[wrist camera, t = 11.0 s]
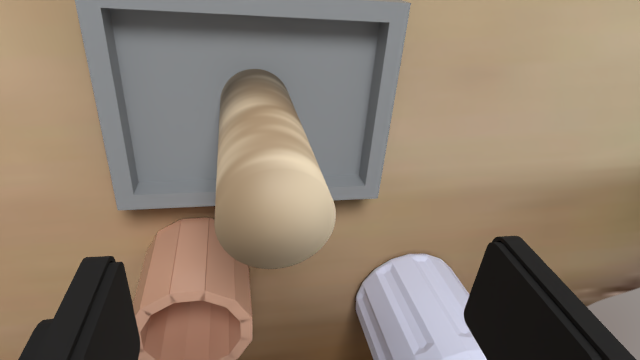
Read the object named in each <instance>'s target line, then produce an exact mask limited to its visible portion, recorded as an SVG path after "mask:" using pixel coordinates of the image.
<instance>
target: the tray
mask: <svg viewBox="0 0 640 360" xmlns="http://www.w3.org/2000/svg"><path fill="white" fill-rule="evenodd" d="M75 3H76V8H77V13H78V18H79V23H80V28H81V33H82V38H83V42H84V47H85V52H86V57H87V62H88V67H89V72H90V77H91V82H92V86H93V91H94V96H95V101H96V106H97V111H98V116H99V121H100V125H101V130H102V135H103V140H104V145H105V150H106V155H107V160H108V165H109V169H110V174H111V179H112V184H113V189H114V194H115V199H116V204H117V209H118V210H136V209H158V208H179V207H201V206H215V199H216V178H217V158H218V137H219V116H220V97H221V93H222V90H223V88H224V86H225V84H226V83H227V81H228V80H229V79H230V78H231V77H232V76H234V75H235V74H237V73H239V72H241V71H244V70H247V69H262V70H265V71H268V72H270V73H272V74H274V75H275V76H277V77H278V78H279V79H280V80H281V81H282V82H283V84H284V85H285V87H286V89H287V91H288V93H289V96H290V98H291V101H292V103H293V105H294V108H295V110H296V113H297V115H298V117H299V120H300V122H301V124H302V127H303V129H304V132H305V134H306V136H307V139H308V141H309V144H310V146H311V148H312V151H313V153H314V156H315V158H316V160H317V163H318V165H319V168H320V170H321V172H322V175H323V177H324V179H325V182H326V184H327V187H328V189H329V191H330V194H331V196H332V199H333V200H352V199H373V198H378V193H379V187H380V182H381V176H382V170H383V164H384V158H385V152H386V146H387V140H388V134H389V128H390V123H391V117H392V111H393V105H394V99H395V93H396V87H397V81H398V75H399V69H400V64H401V58H402V52H403V46H404V40H405V34H406V28H407V22H408V16H409V10H410V5H411V3H409V2H405V1H402V0H75Z"/></svg>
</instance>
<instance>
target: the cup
mask: <svg viewBox="0 0 640 360" xmlns="http://www.w3.org/2000/svg"><path fill="white" fill-rule="evenodd" d="M214 222H215V219H212V218H209V217H208V218H189V219H182V220H181V219H180V220H178V221H176V222H175V223H173V224H171V225H169V226H167V227H165V228H163V229H161V230H160V231H158V232H157V234H156V236H155V237H154V239H153V241H152V243H151V244H150V246H149V248H148V249H147V252H146V256H145V260H144V264H143V268H142V272H141V275H140V279H139V283H138V287H137V291H136V295H135V299H134V302H133V309H134V313H135V318H136V323H137V327H138V332H139V336H140V353H139V357H138V359H139V360H236V359H237V358H239V356H240V355H241V354H242V353H243V351H244V350H245V349H246V347H247V346H248V345H249V344H250V342H251V341H252V339H253V336H252V308H251V294H250V280H249V266H248V265H246V264H243V263H241V262H239V261H237V260H236V259H234V258H233V257H231V256H230V255H229V254H228V253H227V252H226V251H225V250H224V249H223V247H222V246H221V245H220V243H219V241H218V239H217V236H216V233H215V226H214Z"/></svg>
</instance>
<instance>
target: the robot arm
mask: <svg viewBox="0 0 640 360" xmlns="http://www.w3.org/2000/svg"><path fill="white" fill-rule="evenodd" d="M464 320H465V323H466V325H467V326H468V328H469V330H470V332H471V333H472V335H473V337H474V338H475V340H476V342H477V343H478V345H479V347H480V349H481V350H482V352H483V354H484V355H485V357H486V359H487V360H636V359H635V358H634V357H633V356H632V355H631V354H630V353H629V352H628V351H627V349H626V348H625V347H624V346H623V345H622V344H621V343H620V342H619V341H618V340H617V339H616V338H615V337H614V336H613V335H612V334H611V332H609V330H608V329H607V328H606V327H605V326H604V325H603V324H602V323H601V322H600V321H599V320H598V319H597V318H596V317H595V316H594V315H593V313H592V312H591V311H590V310H588V308H587V307H586V306H585V305H584V304H583V303H582V302H581V301H580V300H579V299H578V298H577V296H576V295H575V294H574V293H573V292H572V291H571V290H570V289H569V288H568V287H567V286H566V285H565V284H564V283H563V282H562V281H561V280H560V278H559V277H558V276H557V275H556V274H555V273H554V272H553V271H552V270H551V269H550V268H549V267H548V266H547V265H546V264H545V263H544V262H543V260H542V259H541V258H540V257H539V256H538V255H537V254H536V253H535V252H534V251H533V250H532V249H531V248H530V247H529V246H528V245H527V244H526V243H525V241H524V240H523V239H521V238H520V237H518V236H504V237H496V238H495V239H493V241H492V243H489V244H488V246H487V249H486V251H485V254H484V257H483V260H482V262H481V265H480V268H479V271H478V273H477V276H476V279H475V282H474V284H473V287H472V290H471V293H470V295H469V298H468V301H467V303H466V306H465V309H464ZM139 353H140V336H139V332H138V327H137V323H136V318H135V313H134V309H133V304H132V300H131V295H130V291H129V286H128V282H127V277H126V273H125V268H124V264H123V263H122V262H115V259H114V257H113V256H104V257H86V258H84V259H83V260H82V262H81V264H80V266H79V268H78V270H77V272H76V274H75V276H74V278H73V280H72V282H71V284H70V286H69V288H68V290H67V292H66V294H65V296H64V298H63V300H62V302H61V305H60V307H59V309H58V311H57V313H56V315H55V317H54V319H47V320H42V321H41V322H40V323H39V324H38V325H37V327H36V328H35V329H34V331H33V333H32V335H31V337H30V339H29V341H28V342H27V344H26V346H25V348H24V350H23V352H22V354H21V356H20V358H19V359H18V360H138V357H139Z"/></svg>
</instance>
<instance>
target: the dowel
mask: <svg viewBox="0 0 640 360" xmlns="http://www.w3.org/2000/svg"><path fill="white" fill-rule="evenodd" d="M335 220H336V210H335V205H334V201H333V199H332V196H331V194H330V191H329V189H328V187H327V184H326V182H325V179H324V177H323V175H322V172H321V170H320V168H319V165H318V163H317V160H316V158H315V156H314V153H313V151H312V148H311V146H310V144H309V141H308V139H307V136H306V134H305V132H304V129H303V127H302V124H301V122H300V120H299V117H298V115H297V113H296V110H295V108H294V105H293V103H292V101H291V98H290V96H289V93H288V91H287V89H286V87H285V85H284V84H283V82H282V81H281V80H280V79H279V78H278V77H277V76H275V75H274V74H272V73H270V72H268V71H265V70H262V69H247V70H244V71H241V72H239V73H237V74H235V75H234V76H232V77H231V78H230V79H229V80H228V81H227V83H226V84H225V86H224V88H223V90H222V93H221V97H220V116H219V137H218V158H217V178H216V199H215V222H214V226H215V233H216V236H217V239H218V241H219V243H220V245H221V246H222V247H223V249H224V250H225V251H226V252H227V253H228V254H229V255H230V256H231V257H233V258H234V259H236V260H237V261H239V262H241V263H243V264H246V265H249V266H252V267H256V268H263V269H277V268H284V267H289V266H292V265H295V264H298V263H300V262H302V261H304V260H306V259H308V258H310V257H311V256H312V255H314V254H315V253H316V252H318V251H319V250H320V249H321V248H322V247H323V246H324V244H325V243H326V242H327V240H328V239H329V237H330V235H331V233H332V231H333V228H334V225H335Z"/></svg>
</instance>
